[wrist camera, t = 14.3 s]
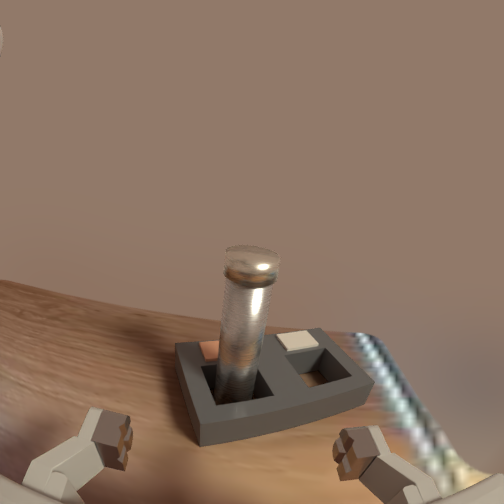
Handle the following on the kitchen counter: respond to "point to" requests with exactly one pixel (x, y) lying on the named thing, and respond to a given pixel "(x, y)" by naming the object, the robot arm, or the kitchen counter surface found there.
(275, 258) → the metal plug
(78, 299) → the kitchen counter surface
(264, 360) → the socket board
